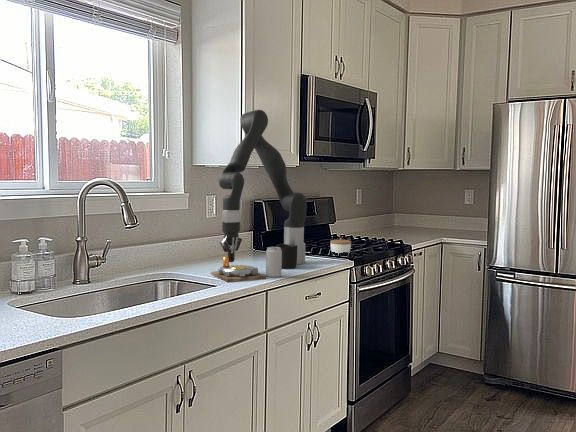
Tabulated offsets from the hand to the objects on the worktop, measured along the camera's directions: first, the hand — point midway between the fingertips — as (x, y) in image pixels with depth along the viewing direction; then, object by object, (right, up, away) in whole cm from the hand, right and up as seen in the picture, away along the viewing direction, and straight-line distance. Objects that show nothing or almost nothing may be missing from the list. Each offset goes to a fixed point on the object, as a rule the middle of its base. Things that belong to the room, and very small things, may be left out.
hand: (231, 261), depth 230 cm
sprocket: (+3, -4, -5) cm, 7 cm away
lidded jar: (+51, -2, +54) cm, 74 cm away
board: (+3, -6, -5) cm, 8 cm away
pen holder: (+23, -4, +18) cm, 30 cm away
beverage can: (+18, -6, -3) cm, 19 cm away
